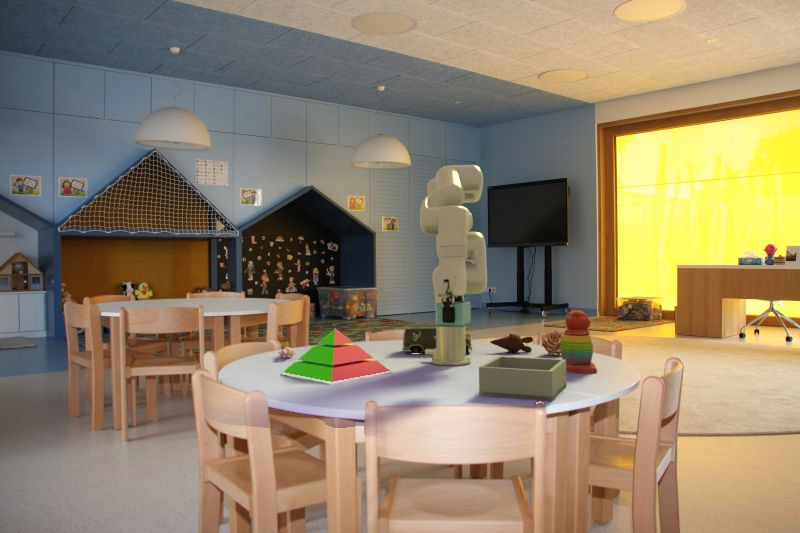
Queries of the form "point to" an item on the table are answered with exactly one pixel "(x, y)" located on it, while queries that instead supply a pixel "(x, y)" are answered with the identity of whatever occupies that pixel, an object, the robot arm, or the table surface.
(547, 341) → the flower
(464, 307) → the box
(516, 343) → the icecream
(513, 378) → the big crate
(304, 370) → the pyramid toy
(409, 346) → the toy van
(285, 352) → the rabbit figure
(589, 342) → the stacking bear
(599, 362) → the table surface
